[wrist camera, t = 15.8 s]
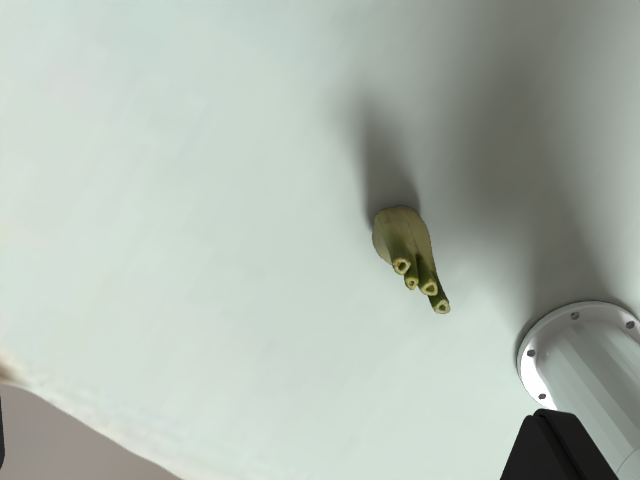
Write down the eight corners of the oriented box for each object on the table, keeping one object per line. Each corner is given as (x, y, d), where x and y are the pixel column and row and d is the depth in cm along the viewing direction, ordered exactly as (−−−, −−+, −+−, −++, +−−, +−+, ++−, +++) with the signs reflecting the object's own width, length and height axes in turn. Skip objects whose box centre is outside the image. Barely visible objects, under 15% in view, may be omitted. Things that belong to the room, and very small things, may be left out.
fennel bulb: (430, 250, 47) (462, 314, 35) (379, 264, 47) (394, 331, 36) (416, 192, 45) (444, 242, 34) (363, 208, 45) (373, 261, 34)
